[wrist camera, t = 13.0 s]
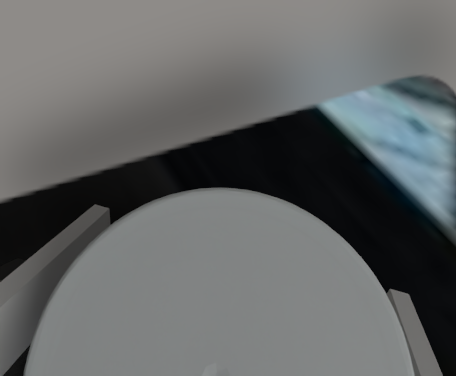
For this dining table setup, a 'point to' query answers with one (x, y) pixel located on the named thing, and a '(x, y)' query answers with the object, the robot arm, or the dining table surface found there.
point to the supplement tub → (218, 297)
